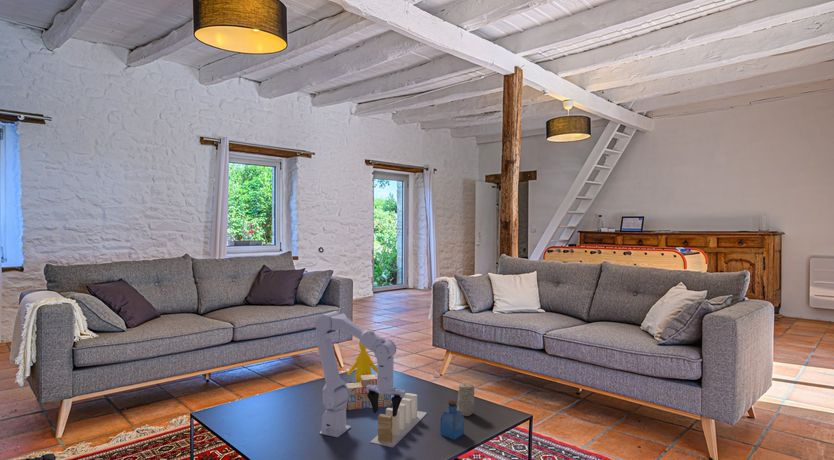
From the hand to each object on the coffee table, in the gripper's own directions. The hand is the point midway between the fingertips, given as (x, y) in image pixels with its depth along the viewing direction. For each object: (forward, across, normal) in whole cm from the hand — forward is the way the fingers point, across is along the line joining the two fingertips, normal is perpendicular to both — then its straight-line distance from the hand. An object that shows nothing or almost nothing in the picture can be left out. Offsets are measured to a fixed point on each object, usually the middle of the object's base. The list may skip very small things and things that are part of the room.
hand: (385, 413), depth 170 cm
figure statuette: (+10, -38, +52) cm, 65 cm away
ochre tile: (+10, 0, 0) cm, 10 cm away
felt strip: (+10, 0, +13) cm, 16 cm away
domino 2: (+10, 0, +12) cm, 15 cm away
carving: (+10, +19, +35) cm, 41 cm away
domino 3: (+10, 0, +22) cm, 24 cm away
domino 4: (+10, 0, +17) cm, 20 cm away
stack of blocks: (+10, -23, +26) cm, 36 cm away
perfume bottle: (+10, +20, +15) cm, 27 cm away
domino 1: (+10, 0, +6) cm, 11 cm away
